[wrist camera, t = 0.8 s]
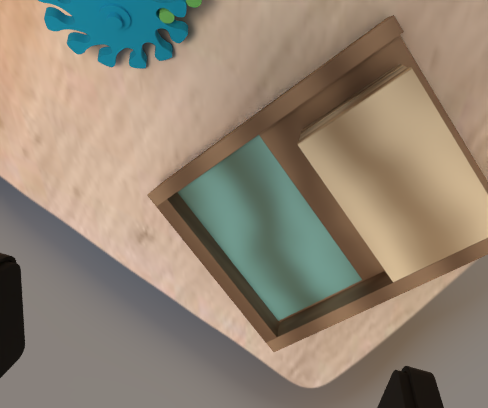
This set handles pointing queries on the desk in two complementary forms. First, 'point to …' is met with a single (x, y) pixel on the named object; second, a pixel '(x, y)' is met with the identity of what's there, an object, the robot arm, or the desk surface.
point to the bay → (294, 207)
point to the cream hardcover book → (398, 174)
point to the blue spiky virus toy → (120, 26)
